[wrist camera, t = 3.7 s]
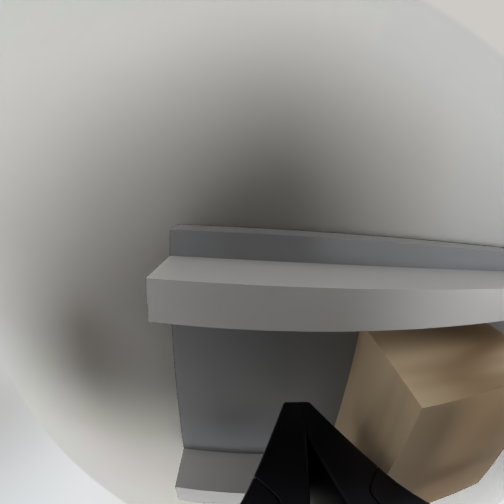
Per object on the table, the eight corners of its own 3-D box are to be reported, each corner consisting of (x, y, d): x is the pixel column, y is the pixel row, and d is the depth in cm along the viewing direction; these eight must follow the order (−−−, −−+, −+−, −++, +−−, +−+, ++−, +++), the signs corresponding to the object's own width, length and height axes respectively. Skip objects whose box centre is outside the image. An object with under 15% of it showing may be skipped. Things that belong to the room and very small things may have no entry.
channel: (566, 255, 9) (629, 280, 4) (511, 410, 11) (551, 454, 6) (178, 224, 9) (100, 272, 4) (190, 454, 11) (173, 546, 6)
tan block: (478, 317, 8) (548, 368, 5) (437, 421, 10) (477, 482, 6) (361, 322, 8) (422, 407, 4) (330, 438, 9) (353, 522, 6)
